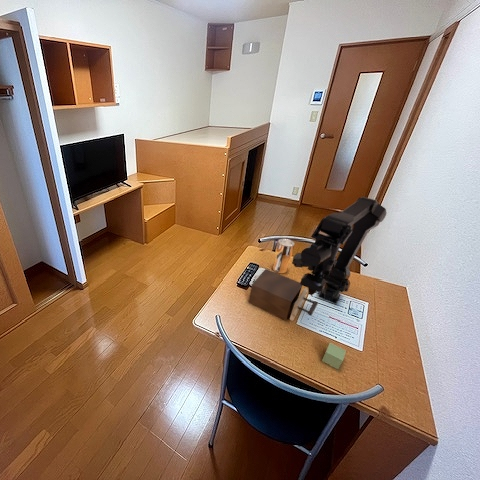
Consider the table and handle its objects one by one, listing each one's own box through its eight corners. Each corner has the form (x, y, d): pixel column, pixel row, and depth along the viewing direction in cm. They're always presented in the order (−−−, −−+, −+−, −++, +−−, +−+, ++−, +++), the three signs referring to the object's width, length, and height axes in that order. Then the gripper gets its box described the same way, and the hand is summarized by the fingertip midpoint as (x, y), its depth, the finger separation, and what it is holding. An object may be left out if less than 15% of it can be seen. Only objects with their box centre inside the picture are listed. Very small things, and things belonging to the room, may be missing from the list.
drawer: (316, 309, 99) (321, 294, 95) (306, 327, 92) (312, 312, 88) (269, 288, 110) (272, 274, 106) (257, 303, 102) (260, 288, 98)
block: (325, 351, 85) (329, 342, 82) (341, 359, 82) (346, 350, 80) (321, 360, 82) (325, 351, 79) (338, 369, 79) (342, 360, 77)
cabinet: (297, 302, 104) (303, 283, 99) (285, 320, 96) (291, 301, 91) (261, 286, 112) (265, 268, 107) (248, 302, 104) (251, 284, 100)
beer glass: (289, 274, 118) (296, 247, 111) (272, 273, 120) (279, 245, 112) (285, 265, 124) (293, 238, 116) (270, 264, 125) (276, 237, 118)
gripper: (307, 234, 93) (297, 269, 101) (289, 257, 81) (279, 294, 90) (343, 244, 86) (329, 280, 95) (328, 271, 75) (314, 310, 83)
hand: (312, 290), depth 91 cm, fingers open, 5 cm apart
